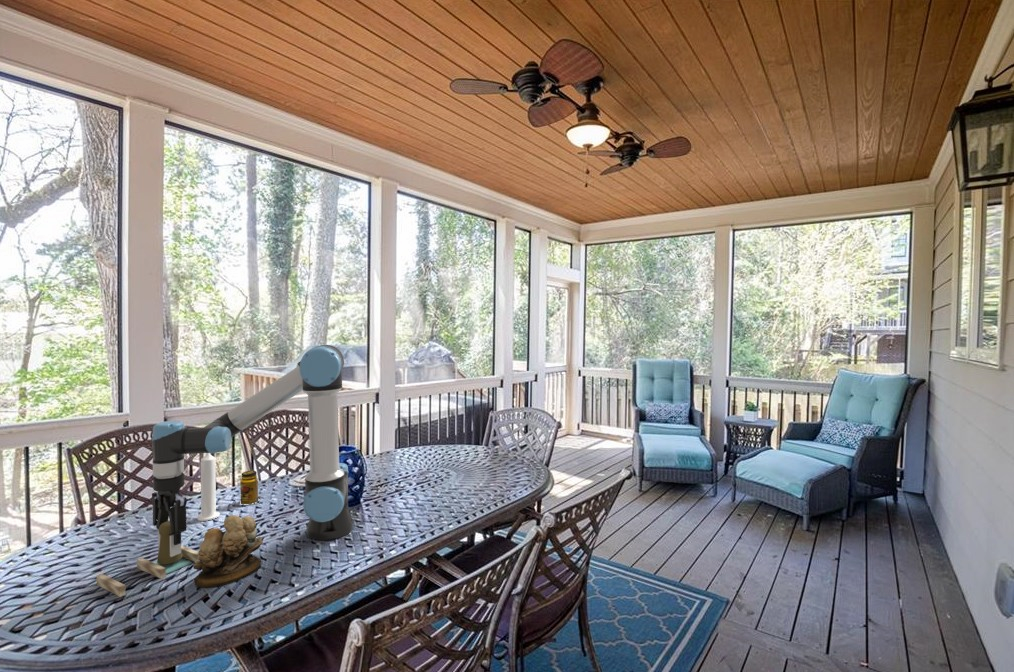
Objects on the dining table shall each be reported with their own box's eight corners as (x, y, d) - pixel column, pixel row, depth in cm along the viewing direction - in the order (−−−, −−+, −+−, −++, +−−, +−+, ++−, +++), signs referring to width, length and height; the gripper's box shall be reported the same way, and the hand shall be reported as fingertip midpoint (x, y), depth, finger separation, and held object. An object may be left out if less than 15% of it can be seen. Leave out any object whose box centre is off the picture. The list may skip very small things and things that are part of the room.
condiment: (238, 506, 183) (238, 475, 182) (240, 498, 191) (240, 469, 190) (259, 503, 186) (259, 473, 185) (261, 496, 193) (261, 467, 193)
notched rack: (231, 547, 150) (231, 539, 150) (120, 596, 123) (120, 587, 123) (208, 539, 156) (208, 531, 156) (96, 584, 128) (96, 575, 128)
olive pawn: (155, 565, 135) (154, 528, 135) (159, 556, 141) (158, 520, 140) (180, 561, 138) (180, 524, 138) (183, 552, 143) (183, 516, 143)
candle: (192, 518, 171) (192, 450, 170) (212, 511, 177) (212, 446, 176) (204, 522, 168) (203, 453, 167) (224, 515, 174) (223, 448, 173)
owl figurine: (253, 554, 146) (254, 500, 146) (271, 567, 139) (272, 510, 138) (186, 579, 132) (187, 518, 131) (203, 595, 125) (203, 531, 124)
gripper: (200, 475, 138) (201, 553, 139) (164, 466, 146) (165, 540, 147) (173, 483, 131) (174, 565, 132) (137, 473, 139) (138, 550, 140)
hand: (169, 552), depth 139 cm, fingers closed on olive pawn, 5 cm apart
